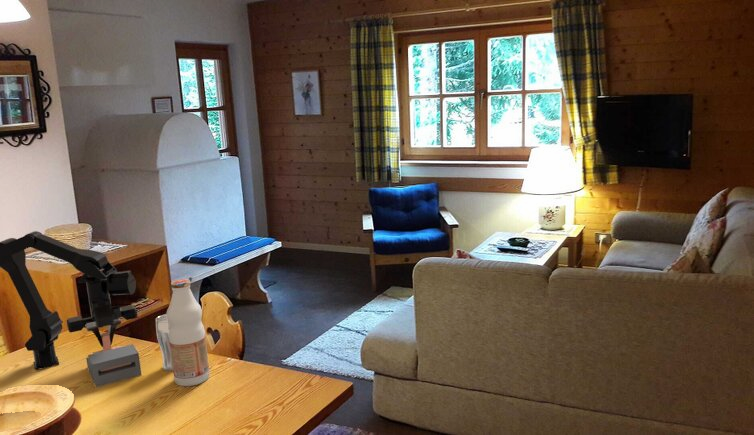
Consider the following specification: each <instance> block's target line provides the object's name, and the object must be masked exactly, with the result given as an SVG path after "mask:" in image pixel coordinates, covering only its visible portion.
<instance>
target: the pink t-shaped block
mask: <svg viewBox="0 0 754 435" xmlns="http://www.w3.org/2000/svg"><path fill="white" fill-rule="evenodd" d="M100 335H101V338H102V342H103V347H102V350H97V351H94V352H92V354H94V353H98V352H103V351H107V350H111V349H115V348H119V347H123V346H122V345H119V346H118V345H117V346H113V347H112V345H111V343H110V336H109V331H106V332H103V333H100ZM130 364H131V363H127V364H123V365H119V366H115V367H111V368H107V369H104V370H100V371H101V372H103V371H106V370H110V369H114V368H118V367H122V366H126V365H130Z"/></svg>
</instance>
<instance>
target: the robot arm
mask: <svg viewBox="0 0 754 435" xmlns="http://www.w3.org/2000/svg"><path fill="white" fill-rule="evenodd" d="M29 248H32V249H35V250H37V251H39V252H41V253H45V254H47V255H49V256H52V257H55V258H57V259H59V260H61V261H64V262H66V263H69V264H70V265H72V267H73V268H74V269H75V270H76V271H79V272H80V273H81V274H82V276H81V278H79V280H78V281H77V283H79V284H82V283H84V284H85V283H86V291H87V296H88V297H87V298H88V304H89V311H90V315H91V316H89V317H85V318H82V315H78V316H73V317H69V318H67V319H66V326H67V330H68V332H69V333H74V332H79V331H82V330H83V329H84V328H86V330H87V332H92V333H93V334H94V335H95V337H96V339H97V341H98V343H99V344H100V346H101V348H103V342H102V338H101V332H100V328H103V327H107V328H108V330H107V331H108V334H109V336H110V343H111V346H112V344H113V340H114V336H115V333H116V330H117V327H118V326H119V325H121V324H122V321H121V318H123V319H124V320H126V321H129V320H133V319H137V318H139V317H138V316H139V315H138V311H137V309H136V307H135V306H134V305H132V304H131V305H129V304H128V305H126V306H120V305H116V306H115V305H114V306H112V302H111V295H112V296H117V295H118V296H121V295H124V296H125V295H134V294H135V292H136V288H137V281H136V278H135V276H134V275H133V274H132V271H131V270H125V271H118V269H117V268H116V267H115V266H114V265H113V264H112V263H111V262H110V261H109V260H108V257H107V255H106V254H105V253H104V252H101V251H98V250H97V251H96V250H93V249H82V248H78V247H75V246H73V245H70V244H68V243H65V242H62V241H60V240H57V239H56V238H54V237H50V236H48V235H46V234H43V233H42V232H41V231H37V230H36V231H35V230H34V231H32V232H28V233H26V234H25V235H24V236H21V237H19V238H15V237H10V238H6V239H4V240H1V241H0V268H1V269H2V270H4V271H5V272H6V273H7V274H8V276H9V278H10V279H11V281H12V284H13V286H14V288H15V291H16V293H17V294H18V296H19V298H20V300H21V302H22V304H23V306H24V308H25V311H27V315H28V316H29V331H30V334H31V337H30V338H28V340H27V341H26V342H25V343H24V347H25V348H26V350H27V351H28V352H29V351H30V352H32V353H33V358H34V359H33V360H34V361H33V367H34V371H37V370H42V369H45V368H50V367H55V366H58V365H60V360H59V358H58V356H57V354H56V349H55V341H57V340H58V339H59V335H60V333H62V330H63V323H64V321H63V320H62V319H61V318H60V314H59V312H58V311H57V310H56V311H55V310H54V311H53V312H52V311H51V310H50V309H49V308H47V307H46V304H45V303H44V300H43V298H42V296H41V294H40V291H39V290H38V288H37V286H36V284H35V282H34V279H33V277H32V276H31V273H30V272H29V270H28V267H27V265H26V263H27V262H26V259H27V258H26V257H27V254H26V252H25V251H26V250H27V249H29ZM110 294H111V295H110Z"/></svg>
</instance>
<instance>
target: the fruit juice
mask: <svg viewBox="0 0 754 435" xmlns="http://www.w3.org/2000/svg"><path fill="white" fill-rule="evenodd" d="M170 287H171V290H172V294H171V298H170V299H171V300H170V303H169V306H168V308H167V310H166V314H167V320H168V322H169V325H170V328H169V343H170V350H171V358H172V366H173V371H172V373H173V380H174V382H175V384H176V385H177V386H180V387H192V386H196V385H200V384H202V383H204V382H206V381H207V380H208V379H209V378H210V364H209V356H208V349H207V348H208V347H207V340H206V333H205V330H206V329H205V326H204V324H203V322H202V316H203V310H202V306H201V305H200V303H198V301H197V300H196V298H195V296H194V294H193V292H192V290H191V281H190V279H188V278H187V279H186V278H185V279H182V278H181V279H177V280H174V281H171V283H170Z"/></svg>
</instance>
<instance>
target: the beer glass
mask: <svg viewBox="0 0 754 435" xmlns="http://www.w3.org/2000/svg"><path fill="white" fill-rule="evenodd" d="M169 328H170V325H169V322H168V320H167V313H165V314H162V315H159V316H157V317H156V318H155V330H156V337H157V341H158V345H159V348H160V351H161V355H162V360H163V361H162V369H163V371H166V372H167V371H168V372H171V371H172V372H173V366H172V358H171V350H170V343H169Z"/></svg>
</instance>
